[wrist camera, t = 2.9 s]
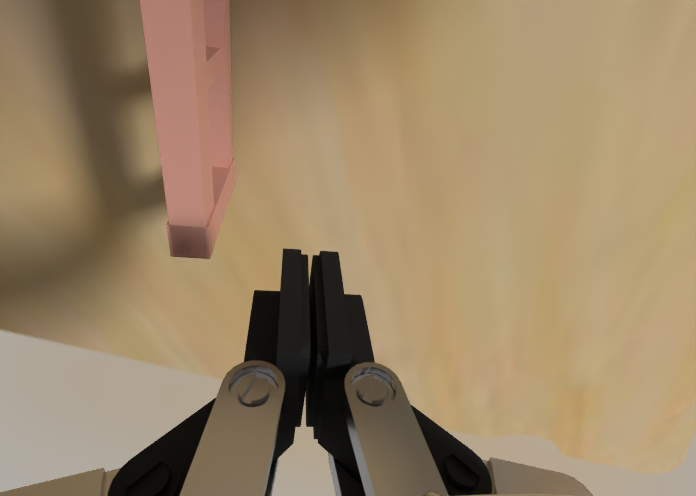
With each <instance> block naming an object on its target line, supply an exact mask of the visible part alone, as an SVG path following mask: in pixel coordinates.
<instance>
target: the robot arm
mask: <svg viewBox="0 0 696 496" xmlns="http://www.w3.org/2000/svg"><path fill="white" fill-rule="evenodd" d="M305 391H306V426H307V427H313V429H314V439H318V443H319V444H320V445H321V446H322V447H323V448H324V449H325V450H327V451H328V456H329V465H330V469H331V474H332V479H333V484H334V488H335V493H336V496H593V495H592V494H591V493H590V491H589V490H588V489H587V488H586V487H585V486H584V485H583V484H582V483H581V482H579V481H577V480H576V479H575V478H574V477H571V476H569V475H566V474H563V473H560V472H555V471H551V470H546V469H541V468H536V467H532V466H527V465H523V464H518V463H514V462H510V461H505V460H500V459H495V458H490V459H489V461H486V460H481V458H480V457H479V456H477V455H476V454H475V453H474V452H473V451H472V450H471V449H469V448H468V447H467V446H465V445H464V444H462V443H461V442H460V441H459V440H457V439H456V438H454V437H453V436H452V435H450V434H449V433H448V432H447V431H445V430H444V429H443V428H441V427H440V426H439V425H437V424H436V423H435V422H433V421H432V420H431V419H429V418H428V417H427V416H425V415H424V414H423V413H421V412H420V411H419V410H417V409H416V408H414V407H413V406H412V405H410V403H409V400H408V398H407V396H406V393H405V391H404V388H403V386H402V384H401V382H400V380H399V378H398V377H397V375H396V374H395V373H394V372H393V371H392V370H391V369H389V368H387V367H385V366H384V365H381V364H378V363H375V361H374V356H373V351H372V346H371V341H370V335H369V330H368V325H367V320H366V315H365V310H364V305H363V300H362V297H361V295H349V294H344V289H343V282H342V275H341V268H340V261H339V254H338V252H329V251H320V254H319V256H318V255H313V259H312V267H311V275H310V283H309V276H308V255H302V254H301V250H297V249H283V259H282V274H281V288H280V291H261V290H255V291H254V296H253V303H252V310H251V316H250V323H249V330H248V337H247V344H246V351H245V358H244V362H243V363H241V364H239V365H237V366H235V367H233V368H232V369H231V370H230V371H229V372H228V373H227V374H226V376H225V378H224V380H223V381H222V384H221V387H220V389H219V392H218V395H217V397H216V398H215V399H213V400H212V401H211V402H209V403H208V404H207V405H205V406H204V407H202V408H201V409H200V410H198V411H197V412H196V413H194V414H193V415H191V416H190V417H189V418H187V419H186V420H184V421H183V422H182V423H180V424H179V425H178V426H176V427H175V428H173V429H172V430H171V431H169V432H168V433H166V434H165V435H164V436H162V437H161V438H159V439H158V440H157V441H155V442H154V443H153V444H151V445H150V446H149V447H147V448H146V449H144V450H143V451H141V452H140V453H139V454H137V455H136V456H135V457H133V458H132V459H131V460H129V461H128V462H127V463H126V464H125V465H124V466H123V467H122V468H120V469H116V470H112V471H107V472H105V470H104V468H101V469H97V470H92V471H88V472H84V473H80V474H76V475H71V476H68V477H63V478H59V479H55V480H51V481H46V482H42V483H38V484H34V485H29V486H25V487H21V488H17V489H13V490H9V491H4V492H0V496H272V491H273V486H274V481H275V476H276V471H277V465H278V458H279V456H281V455H282V454H283V453H284V451H286V450H287V449H288V448H289V447H290V446H291V445H292V444H293V441H294V433H295V427H300V425H301V419H302V412H303V405H304V398H305Z"/></svg>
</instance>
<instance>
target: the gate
mask: <svg viewBox="0 0 696 496" xmlns="http://www.w3.org/2000/svg"><path fill="white" fill-rule="evenodd" d="M140 7H141V14H142V22H143V30H144V37H145V45H146V53H147V60H148V68H149V75H150V83H151V91H152V98H153V106H154V114H155V121H156V129H157V136H158V144H159V152H160V159H161V167H162V175H163V182H164V190H165V197H166V205H167V213H168V220H169V221H168V223H167V224H166V225H167V232H168V240H169V247H170V255H171V256H172V257H188V258H203V259H210V258H211V255H212V252H213V249H214V245H215V242H216V239H217V236H218V233H219V230H220V227H221V224H222V221H223V218H224V215H225V212H226V209H227V206H228V203H229V200H230V197H231V194H232V191H233V188H234V185H235V160H234V158H233V152H232V100H231V48H230V0H140Z"/></svg>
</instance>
